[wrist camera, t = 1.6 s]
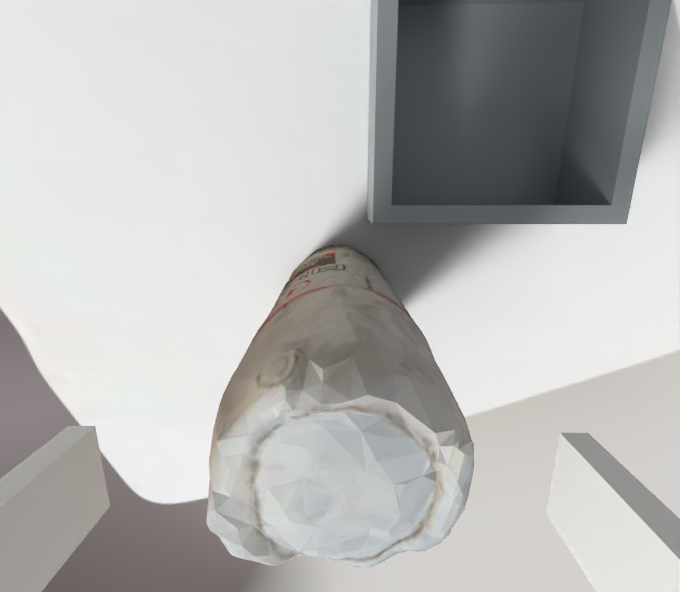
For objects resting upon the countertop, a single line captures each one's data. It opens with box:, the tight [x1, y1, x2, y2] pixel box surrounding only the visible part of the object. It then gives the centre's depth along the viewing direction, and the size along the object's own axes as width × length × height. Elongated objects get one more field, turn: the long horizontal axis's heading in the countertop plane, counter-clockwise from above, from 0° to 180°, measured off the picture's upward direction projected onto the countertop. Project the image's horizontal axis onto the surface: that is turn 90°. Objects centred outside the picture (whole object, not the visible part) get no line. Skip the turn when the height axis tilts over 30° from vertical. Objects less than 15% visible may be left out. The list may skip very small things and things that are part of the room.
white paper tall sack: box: [207, 245, 474, 567], centre depth 18 cm, size 8×8×20 cm
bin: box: [367, 0, 671, 224], centre depth 21 cm, size 14×14×6 cm
